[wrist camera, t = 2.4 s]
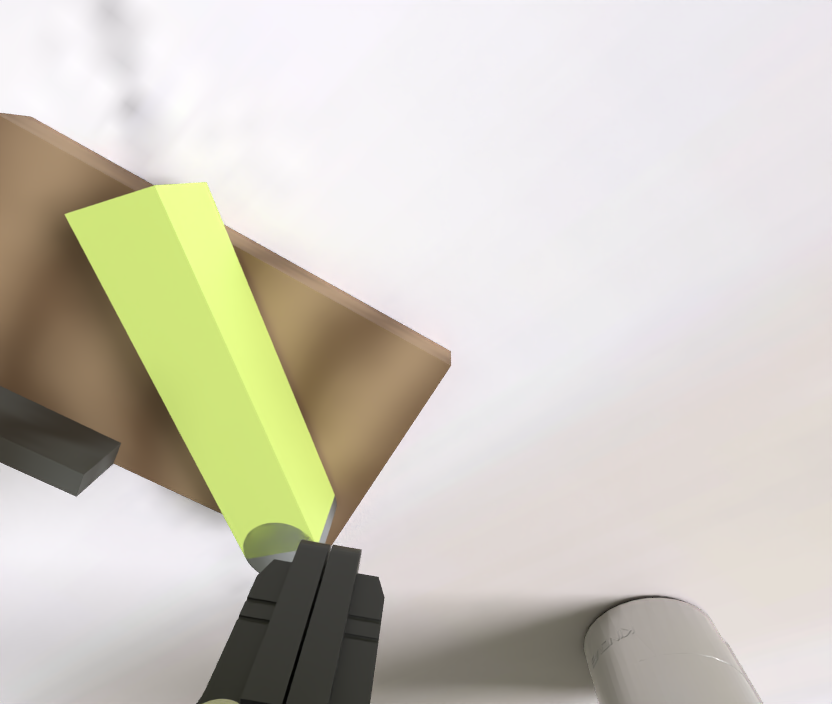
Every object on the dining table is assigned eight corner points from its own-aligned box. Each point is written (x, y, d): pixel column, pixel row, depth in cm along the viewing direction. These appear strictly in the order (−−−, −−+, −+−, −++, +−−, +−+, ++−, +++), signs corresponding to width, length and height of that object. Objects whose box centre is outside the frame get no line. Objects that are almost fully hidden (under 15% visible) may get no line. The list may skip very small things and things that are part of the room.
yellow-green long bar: (345, 521, 28) (330, 575, 24) (285, 531, 28) (260, 586, 25) (206, 182, 21) (154, 185, 17) (130, 206, 21) (64, 214, 18)
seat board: (450, 351, 26) (451, 391, 21) (329, 537, 31) (308, 601, 27) (30, 116, 22) (-78, 103, 18) (-21, 371, 28) (-113, 411, 23)
